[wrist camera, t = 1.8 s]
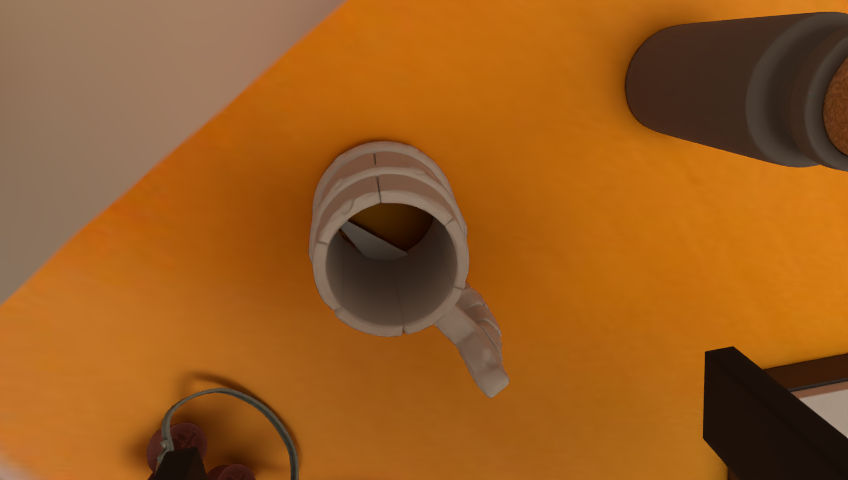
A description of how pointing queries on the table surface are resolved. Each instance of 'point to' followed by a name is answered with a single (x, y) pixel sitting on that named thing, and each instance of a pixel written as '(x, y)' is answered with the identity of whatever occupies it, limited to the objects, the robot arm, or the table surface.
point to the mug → (401, 257)
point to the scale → (818, 389)
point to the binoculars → (190, 435)
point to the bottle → (750, 87)
